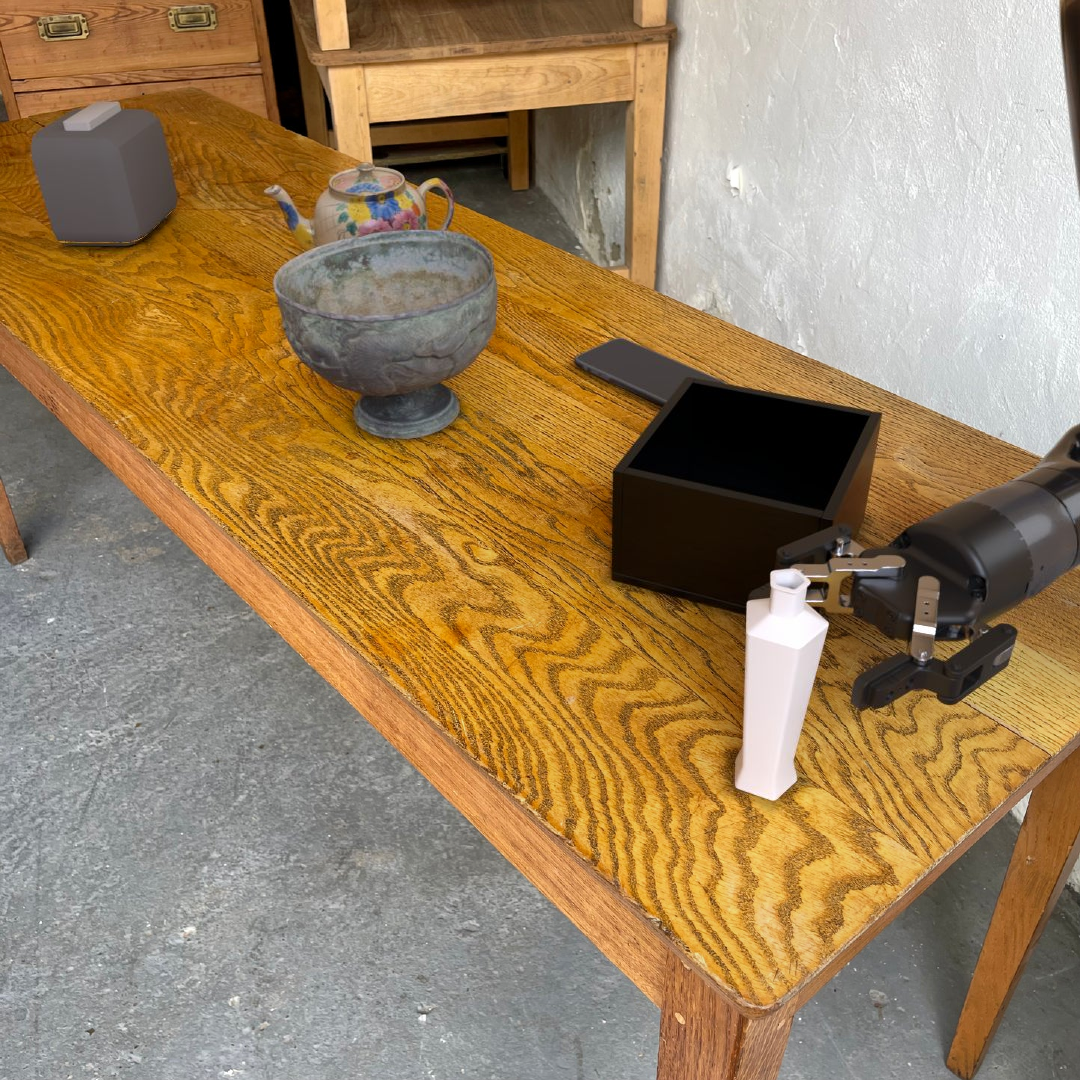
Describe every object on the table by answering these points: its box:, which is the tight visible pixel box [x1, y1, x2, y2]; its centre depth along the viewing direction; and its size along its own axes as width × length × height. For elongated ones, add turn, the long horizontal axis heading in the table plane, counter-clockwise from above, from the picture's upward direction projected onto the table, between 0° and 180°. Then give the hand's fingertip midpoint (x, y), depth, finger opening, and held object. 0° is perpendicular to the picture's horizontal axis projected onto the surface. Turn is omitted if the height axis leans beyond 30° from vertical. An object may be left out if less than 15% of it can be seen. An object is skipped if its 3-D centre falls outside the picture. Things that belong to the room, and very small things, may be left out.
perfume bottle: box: [734, 569, 830, 801], centre depth 63 cm, size 5×4×15 cm
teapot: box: [263, 161, 455, 252], centre depth 131 cm, size 20×14×13 cm
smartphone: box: [573, 337, 727, 407], centre depth 110 cm, size 7×1×15 cm
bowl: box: [272, 229, 498, 440], centre depth 101 cm, size 20×19×15 cm
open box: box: [610, 377, 883, 618], centre depth 83 cm, size 16×16×10 cm
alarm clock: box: [30, 101, 178, 247], centre depth 145 cm, size 16×11×16 cm
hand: (800, 654), depth 63 cm, fingers open, 8 cm apart
